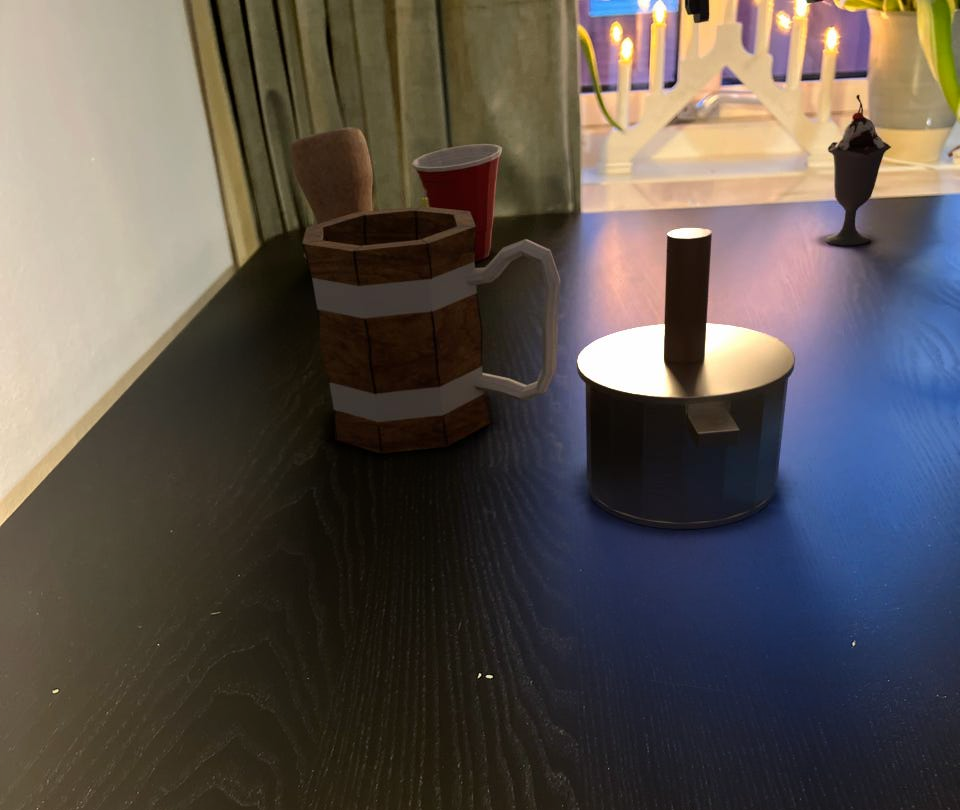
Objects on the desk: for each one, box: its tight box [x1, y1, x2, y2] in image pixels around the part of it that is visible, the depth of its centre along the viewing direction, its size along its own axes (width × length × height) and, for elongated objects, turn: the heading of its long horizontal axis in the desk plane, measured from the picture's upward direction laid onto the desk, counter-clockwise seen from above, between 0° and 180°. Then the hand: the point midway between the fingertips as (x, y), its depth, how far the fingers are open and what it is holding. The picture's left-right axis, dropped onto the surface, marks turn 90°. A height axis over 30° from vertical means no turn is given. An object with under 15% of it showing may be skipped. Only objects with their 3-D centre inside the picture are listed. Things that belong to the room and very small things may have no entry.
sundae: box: [824, 94, 892, 247], centre depth 111 cm, size 7×7×15 cm
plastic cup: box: [411, 143, 503, 262], centre depth 119 cm, size 11×11×12 cm
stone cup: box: [289, 127, 374, 260], centre depth 123 cm, size 15×12×15 cm
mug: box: [301, 205, 561, 454], centre depth 76 cm, size 20×14×15 cm
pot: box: [585, 378, 789, 530], centre depth 65 cm, size 13×18×8 cm
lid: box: [576, 227, 796, 405], centre depth 61 cm, size 14×14×9 cm
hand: (758, 12), depth 73 cm, fingers open, 8 cm apart
